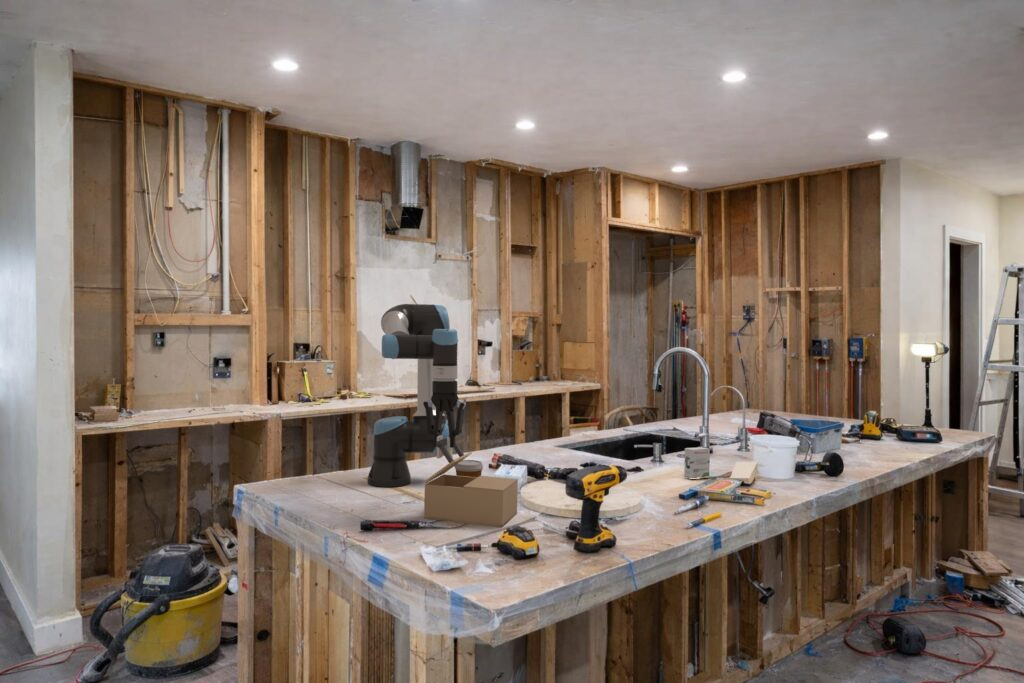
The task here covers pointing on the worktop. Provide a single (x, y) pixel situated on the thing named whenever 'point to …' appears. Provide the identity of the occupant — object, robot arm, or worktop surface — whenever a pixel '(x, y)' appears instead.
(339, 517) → the worktop surface
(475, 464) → the disposable coffee cup
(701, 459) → the ink box
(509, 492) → the carton
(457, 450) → the flap
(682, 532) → the worktop surface
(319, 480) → the worktop surface
